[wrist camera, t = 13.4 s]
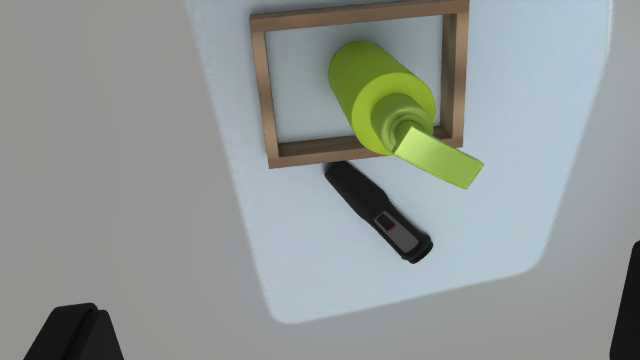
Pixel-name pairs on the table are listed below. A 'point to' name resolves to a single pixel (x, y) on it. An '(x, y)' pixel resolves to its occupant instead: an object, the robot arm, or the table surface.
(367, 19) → the frame
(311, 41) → the table surface
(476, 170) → the soap dispenser
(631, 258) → the robot arm
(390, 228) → the electric trimmer
